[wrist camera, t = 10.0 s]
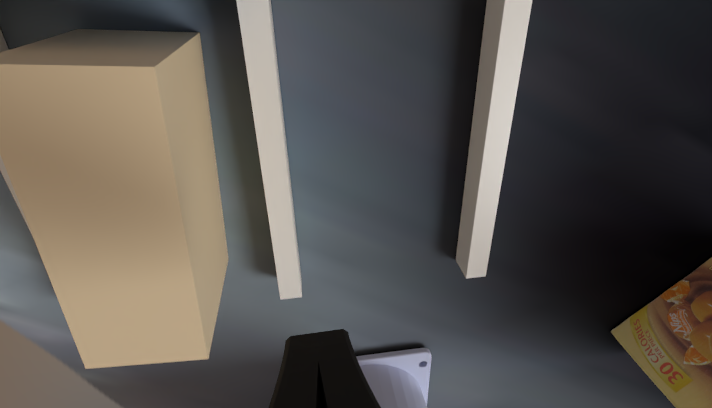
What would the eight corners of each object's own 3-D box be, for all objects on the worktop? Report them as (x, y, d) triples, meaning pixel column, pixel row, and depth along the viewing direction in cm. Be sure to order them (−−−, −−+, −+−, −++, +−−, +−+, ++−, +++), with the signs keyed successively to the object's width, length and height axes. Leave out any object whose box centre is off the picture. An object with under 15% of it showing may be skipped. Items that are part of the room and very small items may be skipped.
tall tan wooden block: (228, 257, 20) (208, 359, 15) (139, 261, 19) (85, 368, 14) (200, 32, 15) (154, 67, 10) (79, 28, 14) (-36, 63, 9)
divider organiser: (473, 258, 22) (508, 312, 18) (88, 299, 20) (46, 369, 16) (521, -64, 15) (592, -73, 11) (-71, -53, 13) (-203, -61, 9)
